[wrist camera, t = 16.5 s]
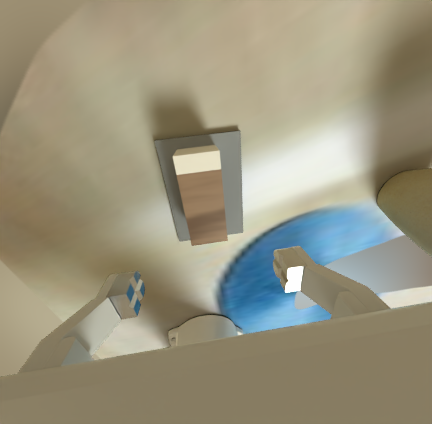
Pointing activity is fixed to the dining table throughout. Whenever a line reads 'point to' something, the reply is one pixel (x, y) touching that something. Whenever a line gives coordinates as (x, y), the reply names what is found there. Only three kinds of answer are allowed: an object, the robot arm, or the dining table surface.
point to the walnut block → (202, 193)
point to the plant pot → (410, 205)
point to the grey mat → (229, 167)
